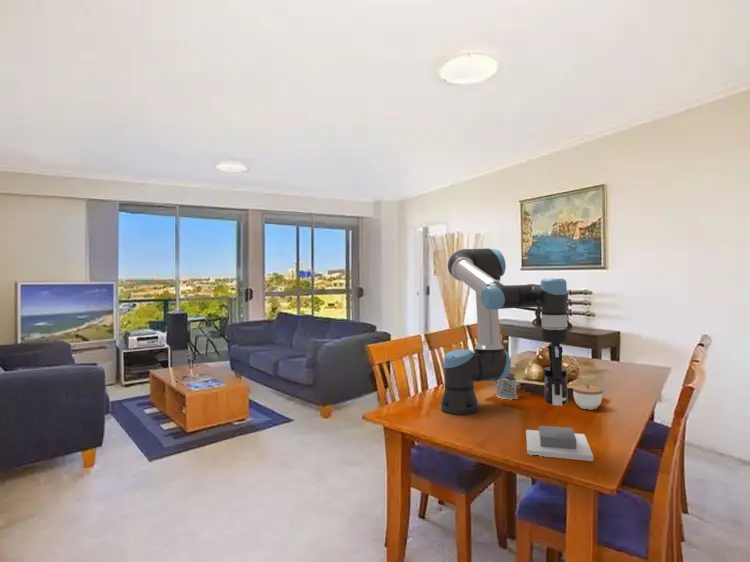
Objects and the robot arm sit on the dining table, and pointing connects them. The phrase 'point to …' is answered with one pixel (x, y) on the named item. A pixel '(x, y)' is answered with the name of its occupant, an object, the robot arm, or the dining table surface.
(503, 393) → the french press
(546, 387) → the supplement container
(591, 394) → the lidded jar
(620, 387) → the dining table surface
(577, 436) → the build base
